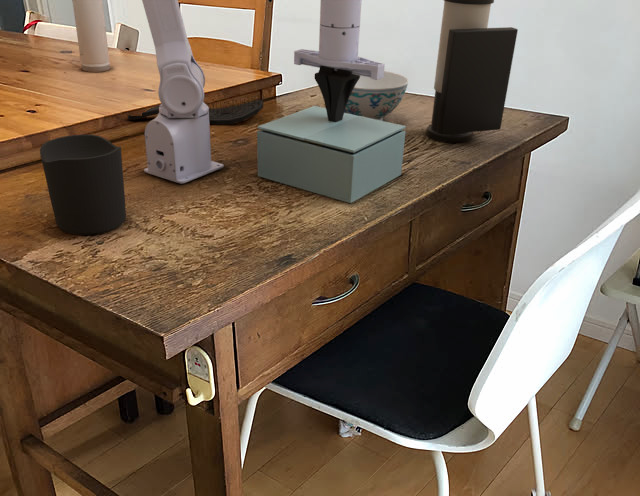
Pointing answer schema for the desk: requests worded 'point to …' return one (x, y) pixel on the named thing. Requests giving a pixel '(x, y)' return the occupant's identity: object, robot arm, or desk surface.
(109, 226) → the pen holder
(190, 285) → the desk surface
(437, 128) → the light fixture
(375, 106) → the chinaware
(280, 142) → the case
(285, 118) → the flap
